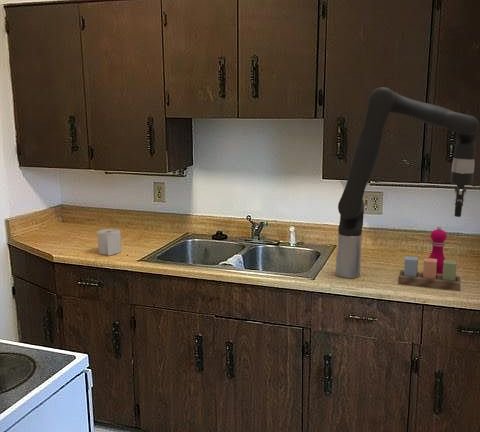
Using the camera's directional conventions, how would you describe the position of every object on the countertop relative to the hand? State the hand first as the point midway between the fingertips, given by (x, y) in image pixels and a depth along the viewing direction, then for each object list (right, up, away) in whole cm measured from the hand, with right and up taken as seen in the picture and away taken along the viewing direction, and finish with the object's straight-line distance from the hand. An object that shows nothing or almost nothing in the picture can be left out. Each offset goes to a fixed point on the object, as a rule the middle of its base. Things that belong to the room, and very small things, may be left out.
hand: (457, 214), depth 201 cm
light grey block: (-142, -18, +55) cm, 153 cm away
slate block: (-14, -24, +10) cm, 30 cm away
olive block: (-1, -25, +5) cm, 25 cm away
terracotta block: (-8, -24, +7) cm, 27 cm away
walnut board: (-8, -27, +8) cm, 29 cm away
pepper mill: (-1, -24, +20) cm, 31 cm away
